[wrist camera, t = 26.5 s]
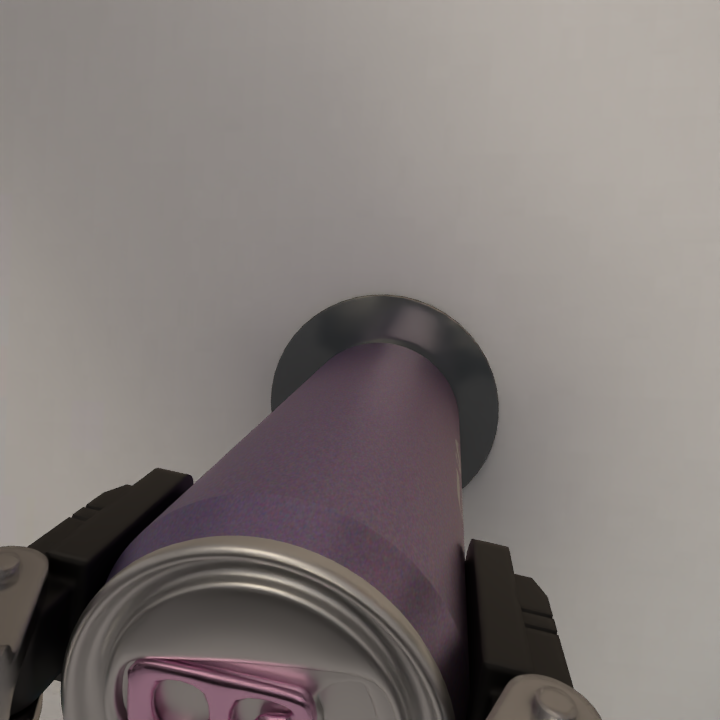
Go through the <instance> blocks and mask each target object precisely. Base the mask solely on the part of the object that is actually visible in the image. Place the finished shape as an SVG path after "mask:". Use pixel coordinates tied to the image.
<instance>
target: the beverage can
mask: <svg viewBox="0 0 720 720" xmlns="http://www.w3.org/2000/svg"><path fill="white" fill-rule="evenodd" d="M469 697H470V678H469V653H468V628H467V603H466V578H465V553H464V528H463V503H462V478H461V453H460V428H459V412H458V406H457V402H456V398H455V396H454V393H453V391H452V389H451V387H450V385H449V383H448V381H447V380H446V378H445V377H444V375H443V374H442V373H441V372H440V371H439V369H438V368H437V367H436V366H435V365H434V364H432V363H431V362H430V361H429V360H428V359H426V358H425V357H423V356H422V355H420V354H418V353H417V352H415V351H413V350H410V349H408V348H405V347H402V346H399V345H395V344H389V343H368V344H362V345H357V346H354V347H351V348H349V349H346V350H344V351H342V352H340V353H338V354H337V355H335V356H334V357H332V358H331V359H330V360H329V361H327V362H326V363H325V364H324V365H323V366H322V367H321V368H320V369H319V370H318V371H316V372H315V373H314V374H313V375H312V376H311V377H310V378H309V379H308V380H307V381H306V382H304V383H303V384H302V385H301V386H300V387H299V388H298V389H297V390H296V391H295V392H294V393H292V394H291V395H290V396H289V397H288V398H287V399H286V400H285V401H284V402H283V403H282V404H280V405H279V406H278V407H277V408H276V409H275V410H274V411H273V412H272V413H271V414H270V415H269V416H267V417H266V418H265V419H264V420H263V421H262V422H261V423H260V424H259V425H258V426H257V427H255V428H254V429H253V430H252V431H251V432H250V433H249V434H248V435H247V436H246V437H245V438H243V439H242V440H241V441H240V442H239V443H238V444H237V445H236V446H235V447H234V448H233V449H231V450H230V451H229V452H228V453H227V454H226V455H225V456H224V457H223V458H222V459H221V460H219V461H218V462H217V463H216V464H215V465H214V466H213V467H212V468H211V469H210V470H209V471H207V472H206V473H205V474H204V475H203V476H202V477H201V478H200V479H199V480H198V481H197V482H195V483H194V484H193V485H192V486H191V487H190V488H189V489H188V490H187V491H186V492H185V493H184V494H182V495H181V496H180V497H179V498H178V499H177V500H176V501H175V502H174V503H173V504H172V505H170V506H169V507H168V508H167V509H166V510H165V511H164V512H163V513H162V514H161V515H160V516H158V517H157V518H156V519H155V520H154V521H153V522H152V523H151V524H150V525H149V526H148V527H146V528H145V529H144V530H143V531H142V532H141V533H140V534H139V535H138V536H137V537H136V538H135V539H134V540H133V541H132V542H131V543H130V544H129V545H128V547H127V548H126V549H125V550H124V551H123V553H122V554H121V556H120V557H119V558H118V560H117V561H116V563H115V565H114V566H113V568H112V570H111V572H110V574H109V576H108V578H107V580H106V583H105V585H104V586H103V587H102V588H101V589H100V590H99V591H98V593H97V594H96V595H95V596H94V597H93V599H92V600H91V601H90V602H89V604H88V605H87V607H86V608H85V610H84V611H83V613H82V614H81V616H80V618H79V620H78V622H77V624H76V625H75V627H74V630H73V632H72V634H71V637H70V639H69V643H68V646H67V649H66V653H65V657H64V662H63V668H62V676H61V705H62V713H63V719H64V720H466V715H467V710H468V703H469Z"/></svg>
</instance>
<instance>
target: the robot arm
mask: <svg viewBox="0 0 720 720" xmlns="http://www.w3.org/2000/svg"><path fill="white" fill-rule="evenodd" d="M192 485H193V478H192V476H191V475H188V474H183V473H179V472H174V471H170V470H165V469H161V468H156V469H154V470H153V471H151V472H150V473H149V474H147V475H146V476H145V477H143V478H142V479H141V480H139V481H138V482H137V483H136V484H134V485H133V486H131V485H124V486H121V487H118V488H115V489H113V490H110V491H107V492H104V493H102V494H101V495H100V496H98V497H97V498H95V499H94V500H92V501H91V502H90V503H88V504H87V506H86V508H85V507H83V508H81V509H80V510H78V511H77V512H76V513H74V514H73V516H72V518H70V517H69V518H67V519H66V520H64V521H63V522H62V523H60V524H59V525H57V526H56V527H55V528H53V529H52V530H50V531H49V532H48V533H46V534H45V535H43V536H42V537H41V538H39V539H38V540H36V541H35V542H34V543H32V544H31V545H29V546H28V547H21V546H4V547H0V720H39V718H40V714H41V710H42V702H43V692H44V690H45V689H46V688H47V687H48V686H49V685H50V684H51V683H52V682H53V681H54V680H57V681H61V676H62V668H63V662H64V657H65V653H66V649H67V646H68V643H69V639H70V637H71V634H72V632H73V630H74V627H75V625H76V624H77V622H78V620H79V618H80V616H81V614H82V613H83V611H84V610H85V608H86V607H87V605H88V604H89V602H90V601H91V600H92V599H93V597H94V596H95V595H96V594H97V593H98V591H99V590H100V589H101V588H102V587H103V586H104V585H105V583H106V580H107V578H108V576H109V574H110V572H111V570H112V568H113V566H114V565H115V563H116V561H117V560H118V558H119V557H120V556H121V554H122V553H123V551H124V550H125V549H126V548H127V547H128V545H129V544H130V543H131V542H132V541H133V540H134V539H135V538H136V537H137V536H138V535H139V534H140V533H141V532H142V531H143V530H144V529H145V528H146V527H148V526H149V525H150V524H151V523H152V522H153V521H154V520H155V519H156V518H157V517H158V516H160V515H161V514H162V513H163V512H164V511H165V510H166V509H167V508H168V507H169V506H170V505H172V504H173V503H174V502H175V501H176V500H177V499H178V498H179V497H180V496H181V495H182V494H184V493H185V492H186V491H187V490H188V489H189V488H190V487H191V486H192ZM465 578H466V603H467V628H468V653H469V678H470V697H469V703H468V710H467V715H466V720H602V719H601V717H600V715H599V714H598V712H597V711H596V709H595V708H594V707H593V706H592V705H591V703H590V702H589V701H588V700H587V699H586V698H585V697H584V696H582V695H581V694H580V693H579V692H577V691H576V690H575V689H574V688H573V685H572V681H571V678H570V674H569V671H568V667H567V664H566V660H565V657H564V653H563V650H562V646H561V643H560V639H559V636H558V635H557V629H556V625H555V622H554V619H552V616H553V615H552V611H551V608H550V604H549V601H548V597H547V596H546V594H545V593H544V592H543V591H542V589H541V588H540V587H539V586H538V585H537V583H536V582H535V581H534V580H533V579H532V578H530V577H525V576H521V575H517V574H514V571H513V566H512V561H511V556H510V551H509V548H508V547H506V546H502V545H497V544H493V543H489V542H484V541H480V540H475V539H471V541H470V544H469V547H468V551H467V556H466V560H465Z"/></svg>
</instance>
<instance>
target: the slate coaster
mask: <svg viewBox="0 0 720 720" xmlns="http://www.w3.org/2000/svg"><path fill="white" fill-rule="evenodd" d="M368 343H389V344H395V345H399V346H402V347H405V348H408V349H410V350H413V351H415V352H417V353H418V354H420V355H422V356H423V357H425V358H426V359H428V360H429V361H430V362H431V363H432V364H434V365H435V366H436V367H437V368H438V369H439V371H440V372H441V373H442V374H443V375H444V377H445V378H446V380H447V381H448V383H449V385H450V387H451V389H452V391H453V393H454V396H455V398H456V402H457V406H458V412H459V428H460V453H461V478H462V489H463V488H464V487H465V486H466V485H467V484H468V483H469V482H470V481H471V480H472V479H473V477H474V476H475V475H476V474H477V473H478V471H479V470H480V468H481V467H482V465H483V464H484V462H485V460H486V458H487V456H488V454H489V452H490V450H491V448H492V445H493V441H494V438H495V435H496V430H497V424H498V406H499V403H498V395H497V388H496V384H495V380H494V377H493V373H492V371H491V368H490V366H489V364H488V361H487V359H486V357H485V355H484V354H483V352H482V350H481V349H480V347H479V345H478V344H477V343H476V342H475V340H474V339H473V338H472V336H471V335H470V334H469V333H468V332H467V331H466V330H465V329H464V328H463V327H462V326H461V325H460V324H459V323H458V322H456V321H455V320H454V319H452V318H451V317H450V316H448V315H447V314H446V313H444V312H442V311H440V310H439V309H437V308H435V307H433V306H431V305H429V304H426V303H424V302H421V301H418V300H415V299H411V298H407V297H403V296H395V295H367V296H361V297H355V298H352V299H349V300H345V301H342V302H340V303H337V304H335V305H333V306H331V307H329V308H327V309H325V310H323V311H322V312H320V313H319V314H317V315H315V316H314V317H313V318H312V319H310V320H309V321H308V322H307V323H306V324H304V325H303V326H302V328H301V329H300V330H299V331H298V332H297V333H296V334H295V335H294V336H293V338H292V339H291V341H290V342H289V344H288V345H287V347H286V348H285V350H284V352H283V354H282V356H281V358H280V360H279V363H278V366H277V368H276V371H275V375H274V380H273V384H272V393H271V410H272V412H273V411H274V410H275V409H276V408H277V407H278V406H279V405H280V404H282V403H283V402H284V401H285V400H286V399H287V398H288V397H289V396H290V395H291V394H292V393H294V392H295V391H296V390H297V389H298V388H299V387H300V386H301V385H302V384H303V383H304V382H306V381H307V380H308V379H309V378H310V377H311V376H312V375H313V374H314V373H315V372H316V371H318V370H319V369H320V368H321V367H322V366H323V365H324V364H325V363H326V362H327V361H329V360H330V359H331V358H332V357H334V356H335V355H337V354H338V353H340V352H342V351H344V350H346V349H349V348H351V347H354V346H357V345H362V344H368Z"/></svg>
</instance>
